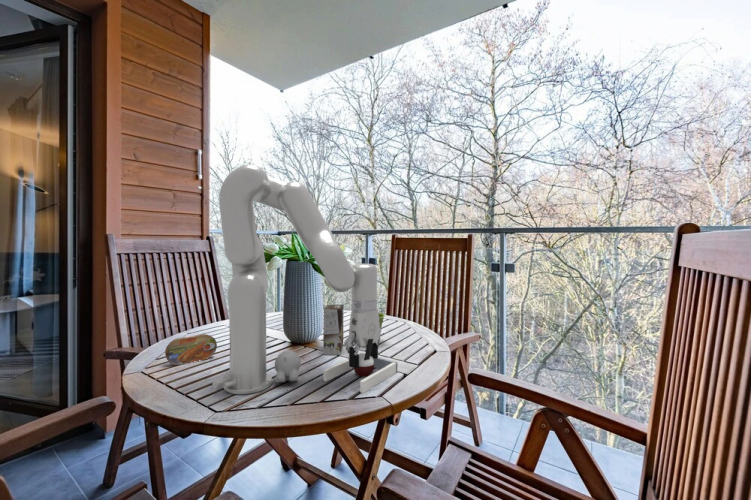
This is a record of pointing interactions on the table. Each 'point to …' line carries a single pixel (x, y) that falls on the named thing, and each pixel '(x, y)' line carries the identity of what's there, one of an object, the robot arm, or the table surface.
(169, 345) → the tin
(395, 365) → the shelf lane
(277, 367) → the chubby cartoon animal
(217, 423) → the table surface
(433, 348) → the table surface
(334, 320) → the coffee box
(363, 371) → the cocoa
